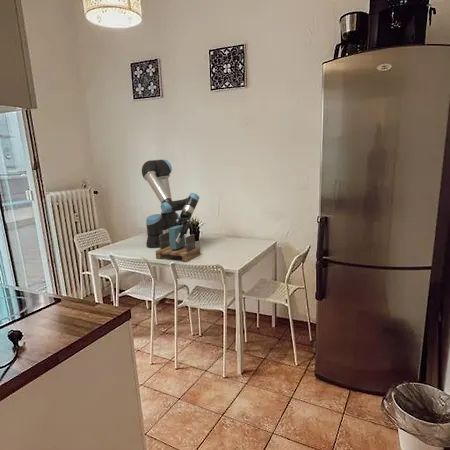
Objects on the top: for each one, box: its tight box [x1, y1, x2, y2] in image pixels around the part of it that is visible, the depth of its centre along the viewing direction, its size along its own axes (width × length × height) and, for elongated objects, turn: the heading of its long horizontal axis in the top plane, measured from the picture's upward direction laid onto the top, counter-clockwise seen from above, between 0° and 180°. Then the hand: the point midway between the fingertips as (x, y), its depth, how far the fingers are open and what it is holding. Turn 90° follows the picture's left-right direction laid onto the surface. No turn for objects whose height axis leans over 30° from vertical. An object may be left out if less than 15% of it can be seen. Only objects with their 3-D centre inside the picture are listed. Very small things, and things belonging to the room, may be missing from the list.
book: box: [168, 225, 186, 249], centre depth 243 cm, size 5×10×14 cm, turn 149°
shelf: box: [155, 231, 201, 263], centre depth 244 cm, size 24×18×16 cm
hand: (173, 241), depth 240 cm, fingers closed on book, 5 cm apart
